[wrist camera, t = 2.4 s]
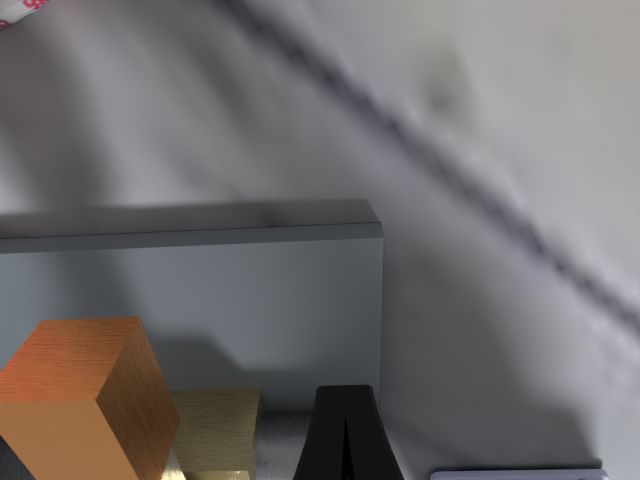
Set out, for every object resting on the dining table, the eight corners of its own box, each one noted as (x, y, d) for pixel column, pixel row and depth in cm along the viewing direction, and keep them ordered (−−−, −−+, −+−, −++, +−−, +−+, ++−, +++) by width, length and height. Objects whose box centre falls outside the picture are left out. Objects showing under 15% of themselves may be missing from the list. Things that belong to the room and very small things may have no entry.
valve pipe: (378, 376, 19) (390, 470, 15) (377, 439, 21) (387, 532, 18) (-13, 386, 20) (-88, 478, 16) (31, 446, 22) (-24, 537, 19)
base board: (380, 222, 15) (383, 237, 14) (375, 504, 26) (376, 522, 25) (-103, 243, 16) (-127, 259, 15) (88, 508, 27) (80, 525, 26)
